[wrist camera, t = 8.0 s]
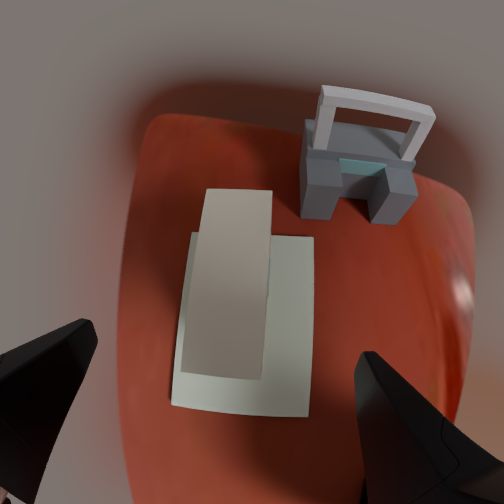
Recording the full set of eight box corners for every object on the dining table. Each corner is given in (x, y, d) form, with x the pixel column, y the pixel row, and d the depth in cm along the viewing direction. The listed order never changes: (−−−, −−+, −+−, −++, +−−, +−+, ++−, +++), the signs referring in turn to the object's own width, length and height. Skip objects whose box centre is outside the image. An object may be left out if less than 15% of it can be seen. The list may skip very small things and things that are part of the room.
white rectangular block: (263, 371, 19) (261, 380, 9) (219, 367, 19) (179, 371, 10) (270, 265, 22) (273, 190, 12) (230, 263, 22) (205, 188, 13)
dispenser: (395, 225, 23) (454, 145, 13) (300, 218, 24) (320, 119, 13) (384, 173, 25) (425, 89, 15) (299, 165, 26) (311, 67, 16)
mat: (306, 415, 18) (308, 416, 17) (173, 403, 18) (171, 404, 18) (312, 240, 23) (313, 237, 22) (193, 235, 24) (191, 231, 23)
